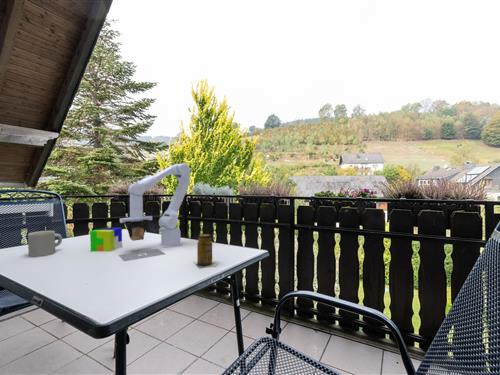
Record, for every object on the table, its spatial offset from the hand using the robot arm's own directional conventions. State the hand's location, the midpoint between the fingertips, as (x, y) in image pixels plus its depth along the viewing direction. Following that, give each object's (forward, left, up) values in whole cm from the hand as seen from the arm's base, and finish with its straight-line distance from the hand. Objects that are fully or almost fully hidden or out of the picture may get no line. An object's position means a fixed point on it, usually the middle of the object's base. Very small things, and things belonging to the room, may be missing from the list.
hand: (136, 236), depth 131 cm
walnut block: (0, 0, -1) cm, 1 cm away
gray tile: (0, +9, -7) cm, 12 cm away
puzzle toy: (+11, -13, -8) cm, 19 cm away
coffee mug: (+35, -22, -8) cm, 42 cm away
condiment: (-17, +38, -8) cm, 42 cm away
